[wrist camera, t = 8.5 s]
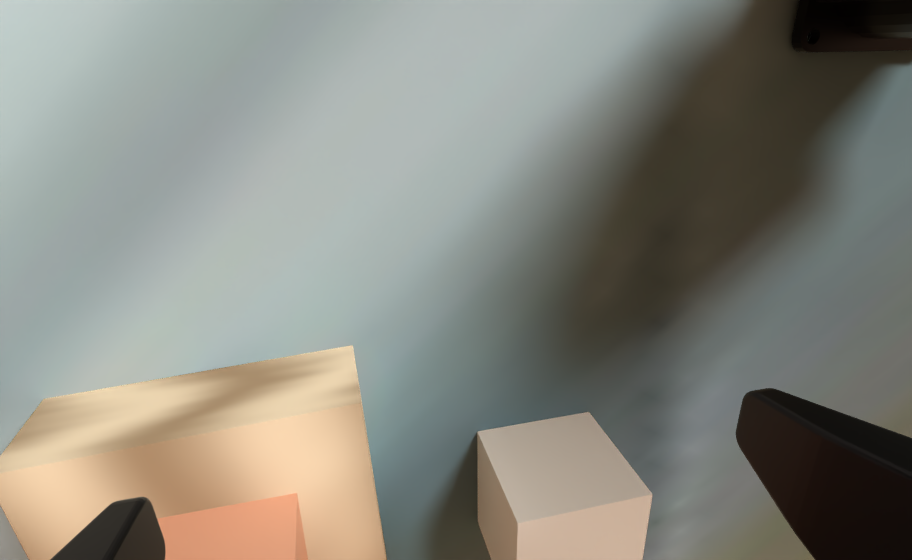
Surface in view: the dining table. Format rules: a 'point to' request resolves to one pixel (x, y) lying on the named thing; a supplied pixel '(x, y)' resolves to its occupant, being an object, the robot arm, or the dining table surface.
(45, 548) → the birch base block
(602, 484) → the beige cube
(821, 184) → the dining table surface
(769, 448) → the robot arm
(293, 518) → the terracotta cube
